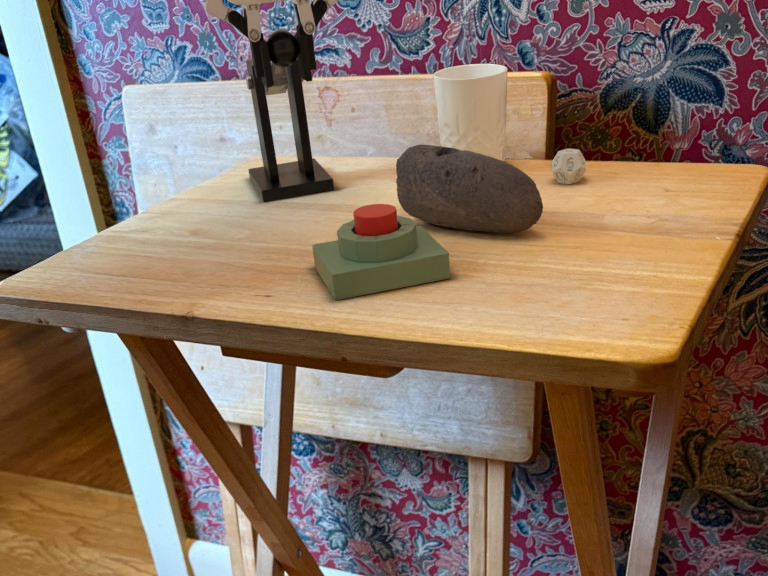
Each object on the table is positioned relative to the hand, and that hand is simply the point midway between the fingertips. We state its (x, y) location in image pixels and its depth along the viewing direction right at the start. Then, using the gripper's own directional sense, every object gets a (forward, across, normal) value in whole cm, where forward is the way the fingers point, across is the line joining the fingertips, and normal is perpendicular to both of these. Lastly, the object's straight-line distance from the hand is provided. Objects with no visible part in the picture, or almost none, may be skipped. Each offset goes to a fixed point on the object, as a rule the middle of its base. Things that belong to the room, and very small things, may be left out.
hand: (287, 80), depth 88 cm
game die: (+12, +27, -8) cm, 31 cm away
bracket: (+12, 0, +8) cm, 15 cm away
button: (+8, +2, -24) cm, 25 cm away
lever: (+1, 0, +3) cm, 3 cm away
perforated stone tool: (+12, +13, -17) cm, 25 cm away
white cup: (+12, +20, +2) cm, 24 cm away
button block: (+12, +2, -24) cm, 27 cm away
